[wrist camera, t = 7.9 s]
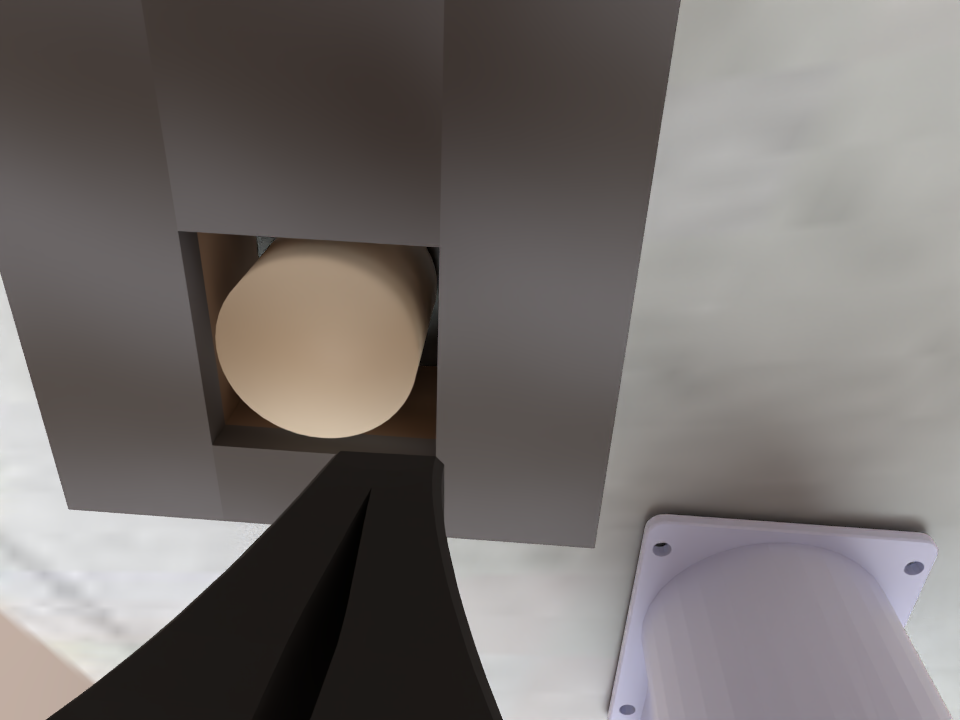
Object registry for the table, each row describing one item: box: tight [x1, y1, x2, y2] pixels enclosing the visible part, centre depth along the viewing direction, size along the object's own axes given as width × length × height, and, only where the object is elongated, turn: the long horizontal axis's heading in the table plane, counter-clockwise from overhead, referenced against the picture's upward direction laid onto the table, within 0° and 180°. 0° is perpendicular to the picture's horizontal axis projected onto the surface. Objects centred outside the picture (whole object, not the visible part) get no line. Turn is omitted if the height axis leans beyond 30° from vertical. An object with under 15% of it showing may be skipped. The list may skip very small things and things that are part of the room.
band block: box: [0, 0, 681, 548], centre depth 14 cm, size 18×12×4 cm, turn 177°
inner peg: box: [215, 237, 437, 438], centre depth 16 cm, size 4×4×4 cm
